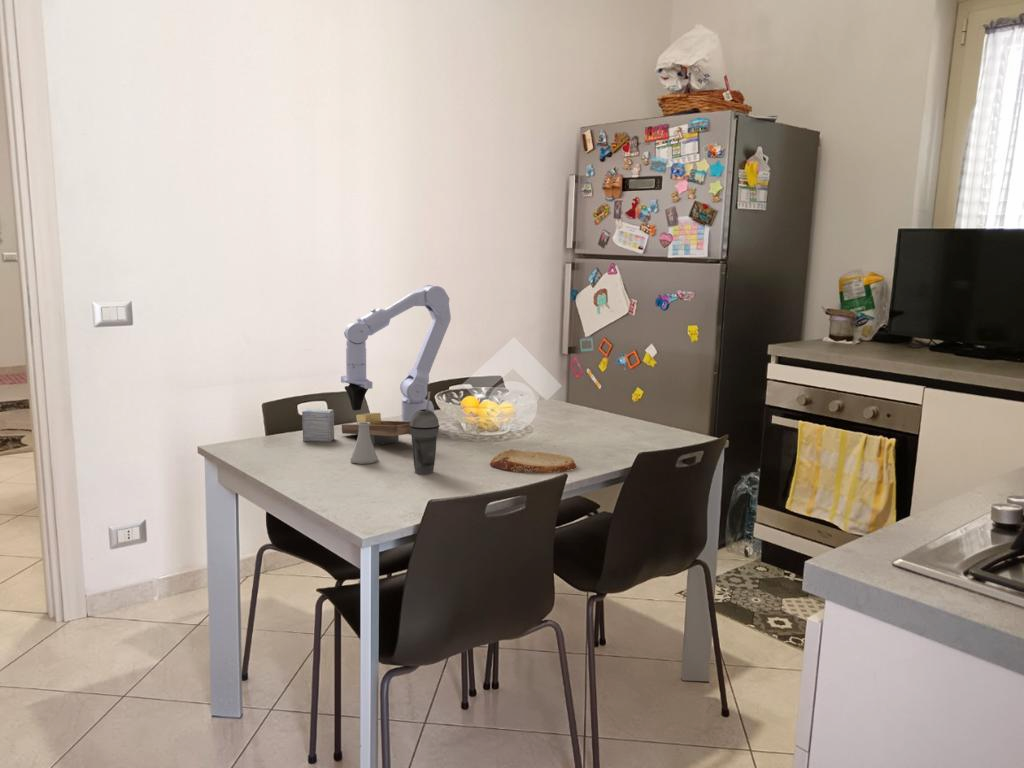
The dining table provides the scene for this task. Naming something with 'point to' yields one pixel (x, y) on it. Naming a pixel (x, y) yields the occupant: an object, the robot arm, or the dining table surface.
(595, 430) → the dining table surface
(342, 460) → the dining table surface
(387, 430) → the beam
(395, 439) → the fulcrum
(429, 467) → the beverage cup
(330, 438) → the grey streaked box
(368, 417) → the wood grain cube
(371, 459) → the flask
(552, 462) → the slice of bread
